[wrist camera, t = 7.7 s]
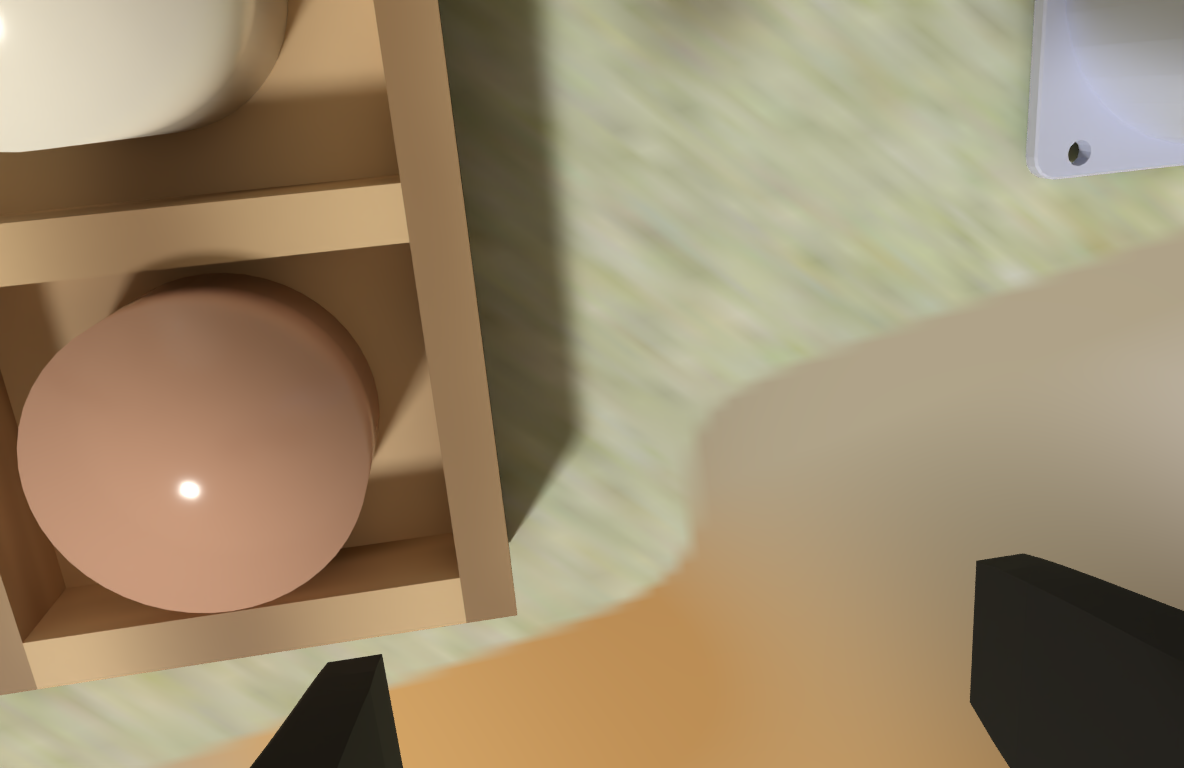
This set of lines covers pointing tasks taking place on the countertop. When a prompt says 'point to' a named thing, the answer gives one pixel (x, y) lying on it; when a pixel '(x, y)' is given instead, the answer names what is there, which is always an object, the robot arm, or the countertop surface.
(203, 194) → the tray
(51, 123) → the cream cylinder
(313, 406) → the pinkish tan dome
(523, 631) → the countertop surface
